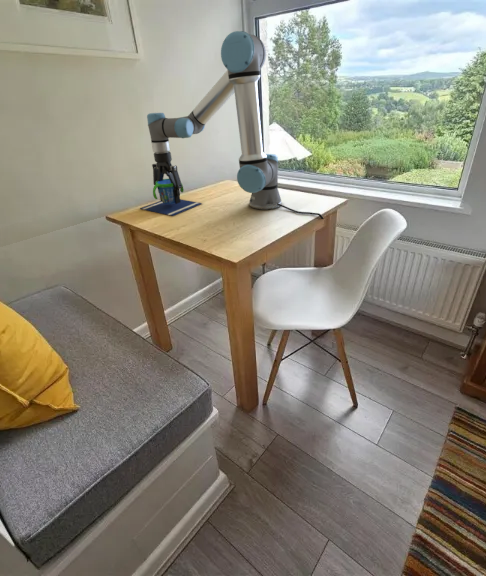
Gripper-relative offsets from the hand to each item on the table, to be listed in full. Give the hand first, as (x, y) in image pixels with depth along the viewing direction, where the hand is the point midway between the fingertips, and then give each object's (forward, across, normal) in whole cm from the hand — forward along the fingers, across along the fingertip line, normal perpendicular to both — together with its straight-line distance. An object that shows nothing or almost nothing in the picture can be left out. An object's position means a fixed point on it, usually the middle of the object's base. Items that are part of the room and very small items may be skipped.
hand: (170, 201), depth 157 cm
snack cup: (+1, 0, 0) cm, 1 cm away
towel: (+3, 0, 0) cm, 3 cm away
